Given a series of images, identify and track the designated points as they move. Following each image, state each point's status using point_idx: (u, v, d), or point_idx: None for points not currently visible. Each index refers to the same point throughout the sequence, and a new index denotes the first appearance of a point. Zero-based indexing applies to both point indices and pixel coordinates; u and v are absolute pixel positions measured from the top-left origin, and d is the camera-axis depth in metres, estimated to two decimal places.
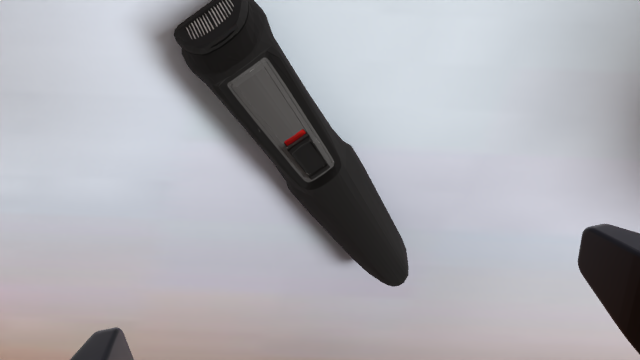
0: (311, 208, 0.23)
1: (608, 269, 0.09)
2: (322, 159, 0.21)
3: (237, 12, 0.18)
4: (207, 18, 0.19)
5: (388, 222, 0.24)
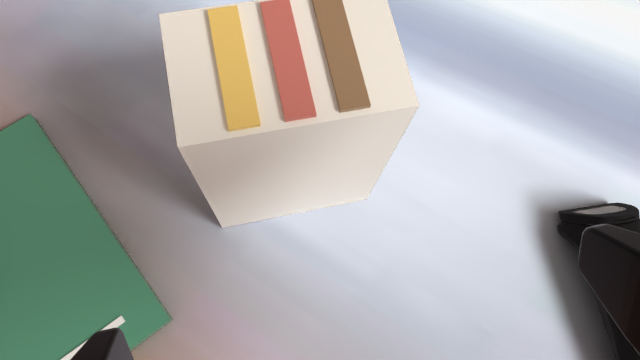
0: None
1: (608, 269, 0.09)
2: None
3: (634, 209, 0.23)
4: (595, 210, 0.24)
5: None
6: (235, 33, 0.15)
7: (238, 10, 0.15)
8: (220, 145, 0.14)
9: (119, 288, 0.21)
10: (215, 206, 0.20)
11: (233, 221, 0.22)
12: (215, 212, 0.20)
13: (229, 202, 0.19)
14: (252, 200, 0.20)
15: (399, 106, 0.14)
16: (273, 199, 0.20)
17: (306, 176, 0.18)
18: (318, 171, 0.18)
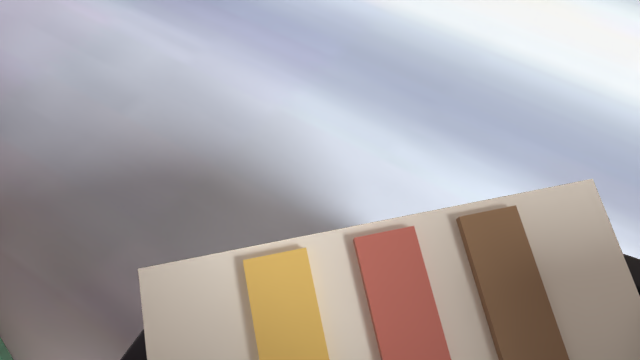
0: None
1: None
2: None
3: None
4: None
5: None
6: (305, 320, 0.07)
7: (306, 255, 0.07)
8: None
9: None
10: None
11: None
12: None
13: None
14: None
15: None
16: None
17: None
18: None
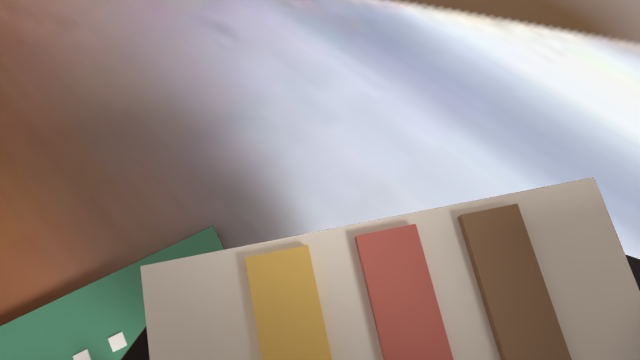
0: None
1: None
2: None
3: None
4: None
5: None
6: (306, 318, 0.07)
7: (308, 252, 0.07)
8: None
9: None
10: None
11: None
12: None
13: None
14: None
15: None
16: None
17: None
18: None
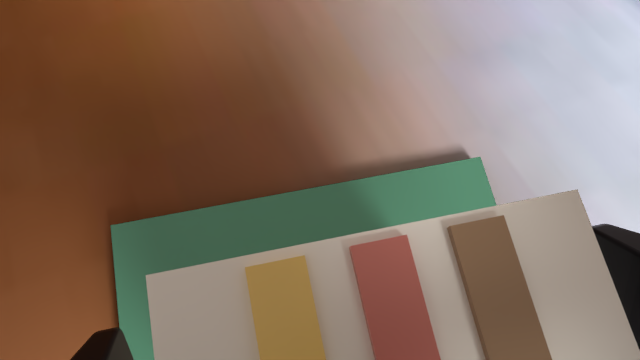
0: None
1: (608, 269, 0.09)
2: None
3: None
4: None
5: None
6: (303, 324, 0.07)
7: (305, 261, 0.07)
8: None
9: None
10: None
11: None
12: None
13: None
14: None
15: None
16: None
17: None
18: None
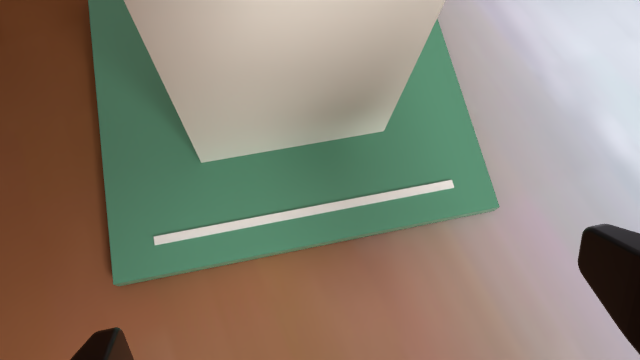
0: None
1: (608, 269, 0.09)
2: None
3: None
4: None
5: None
6: None
7: None
8: None
9: (456, 152, 0.19)
10: (187, 119, 0.15)
11: (214, 152, 0.17)
12: (188, 131, 0.15)
13: (205, 114, 0.15)
14: (237, 112, 0.15)
15: None
16: (265, 116, 0.16)
17: (309, 72, 0.14)
18: (325, 65, 0.13)
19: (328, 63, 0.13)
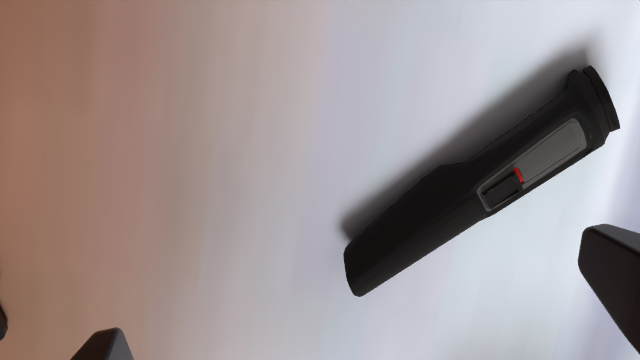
0: (434, 192, 0.23)
1: (608, 269, 0.09)
2: (498, 201, 0.23)
3: None
4: None
5: None
6: None
7: None
8: None
9: None
10: None
11: None
12: None
13: None
14: None
15: None
16: None
17: None
18: None
19: None
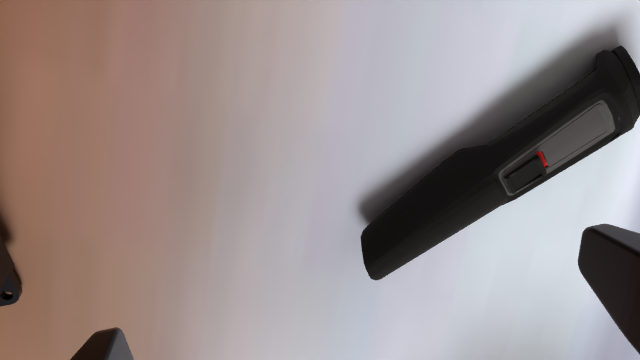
0: (454, 175, 0.23)
1: (608, 269, 0.09)
2: (520, 186, 0.22)
3: None
4: None
5: None
6: None
7: None
8: None
9: None
10: None
11: None
12: None
13: None
14: None
15: None
16: None
17: None
18: None
19: None
